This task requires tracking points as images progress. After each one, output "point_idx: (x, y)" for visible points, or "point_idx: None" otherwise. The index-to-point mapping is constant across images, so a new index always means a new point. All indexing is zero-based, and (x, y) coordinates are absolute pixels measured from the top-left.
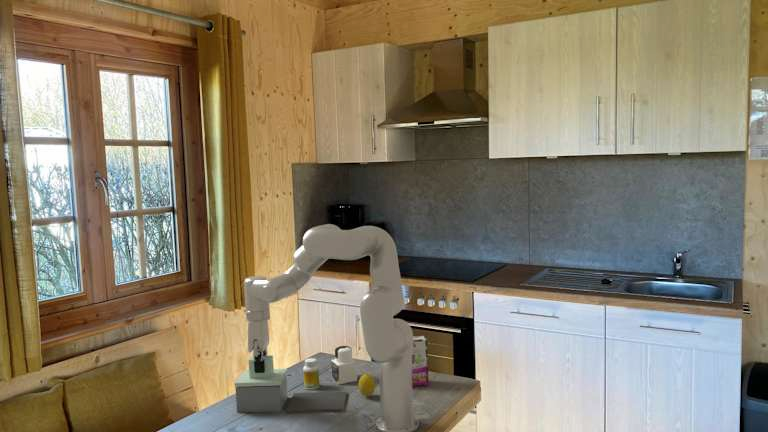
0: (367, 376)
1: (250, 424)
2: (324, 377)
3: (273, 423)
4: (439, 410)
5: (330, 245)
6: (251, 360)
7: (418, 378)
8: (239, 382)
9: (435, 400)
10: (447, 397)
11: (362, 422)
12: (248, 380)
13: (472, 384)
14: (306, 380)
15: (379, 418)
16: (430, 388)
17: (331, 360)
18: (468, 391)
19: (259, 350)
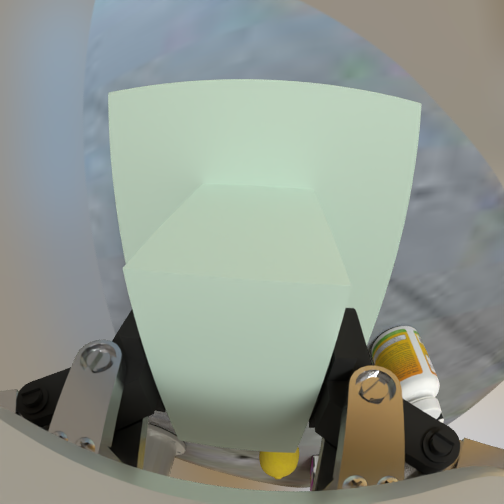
0: (270, 475)
1: (92, 189)
2: (446, 358)
3: (108, 261)
4: (212, 467)
5: None
6: (134, 306)
7: (310, 478)
8: (119, 125)
9: (248, 471)
10: (257, 476)
11: (154, 413)
12: (156, 186)
13: (298, 487)
14: (387, 358)
15: (158, 433)
16: (297, 472)
17: (442, 419)
18: (275, 484)
19: (338, 450)
